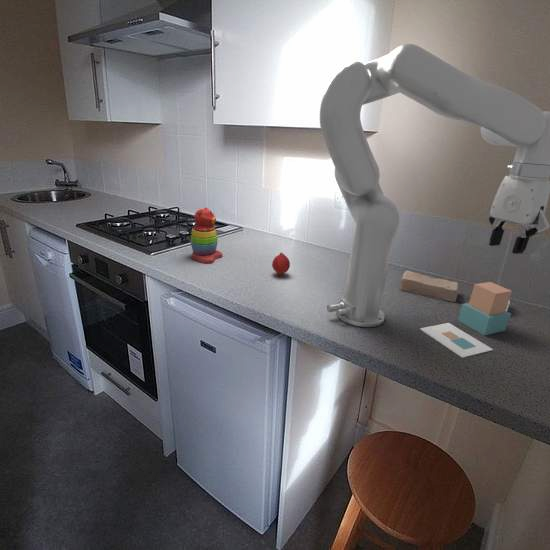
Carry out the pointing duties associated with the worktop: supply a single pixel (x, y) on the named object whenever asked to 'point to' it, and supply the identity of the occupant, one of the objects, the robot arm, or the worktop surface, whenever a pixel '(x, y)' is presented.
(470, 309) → the base block
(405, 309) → the worktop surface
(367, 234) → the robot arm
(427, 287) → the brick
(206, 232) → the stacking bear
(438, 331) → the page
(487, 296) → the clay block
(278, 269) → the onion
